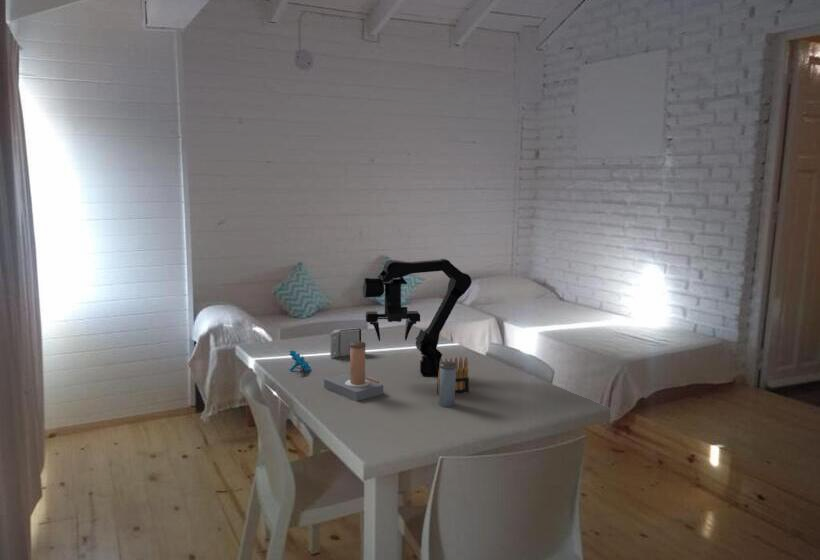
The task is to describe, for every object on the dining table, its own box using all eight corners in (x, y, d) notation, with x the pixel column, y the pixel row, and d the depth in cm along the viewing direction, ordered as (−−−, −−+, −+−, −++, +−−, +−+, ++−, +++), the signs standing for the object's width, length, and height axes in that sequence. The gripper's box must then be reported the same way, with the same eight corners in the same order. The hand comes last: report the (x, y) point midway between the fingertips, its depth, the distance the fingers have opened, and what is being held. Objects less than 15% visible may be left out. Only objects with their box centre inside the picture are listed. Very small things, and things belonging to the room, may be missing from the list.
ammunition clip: (438, 395, 216) (439, 359, 214) (436, 393, 218) (437, 358, 216) (468, 392, 220) (469, 356, 218) (466, 390, 221) (467, 355, 219)
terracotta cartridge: (368, 381, 219) (368, 342, 217) (361, 385, 214) (361, 346, 212) (354, 379, 220) (354, 341, 218) (347, 383, 216) (347, 344, 214)
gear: (308, 370, 236) (289, 350, 236) (296, 382, 236) (277, 361, 236) (315, 366, 247) (296, 347, 247) (303, 377, 247) (285, 358, 247)
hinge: (331, 359, 258) (331, 333, 257) (325, 356, 263) (324, 331, 261) (362, 354, 266) (362, 329, 264) (356, 351, 270) (356, 327, 269)
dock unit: (352, 381, 230) (352, 371, 229) (384, 393, 217) (384, 382, 216) (324, 387, 222) (324, 377, 222) (356, 401, 209) (356, 390, 209)
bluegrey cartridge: (452, 401, 210) (454, 361, 208) (456, 406, 205) (457, 366, 203) (437, 401, 209) (438, 361, 207) (440, 407, 204) (441, 366, 202)
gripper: (367, 301, 223) (367, 346, 225) (422, 300, 225) (422, 345, 227) (365, 295, 234) (365, 339, 236) (418, 295, 236) (417, 338, 238)
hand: (392, 340), depth 234 cm, fingers open, 9 cm apart
